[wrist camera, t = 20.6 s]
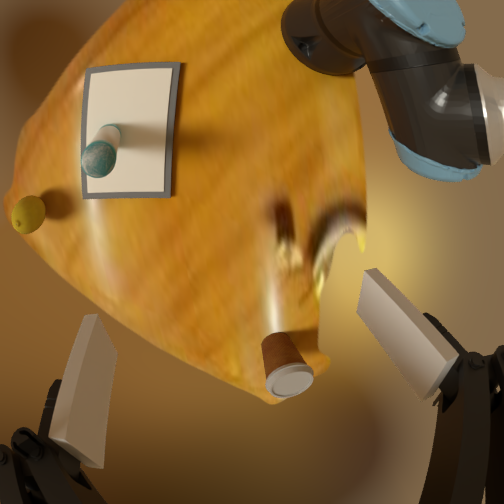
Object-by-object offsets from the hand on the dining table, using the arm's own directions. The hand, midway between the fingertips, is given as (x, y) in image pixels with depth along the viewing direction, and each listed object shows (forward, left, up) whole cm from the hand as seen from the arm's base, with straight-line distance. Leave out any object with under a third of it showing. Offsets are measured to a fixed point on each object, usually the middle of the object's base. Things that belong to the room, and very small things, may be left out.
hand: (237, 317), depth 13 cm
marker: (+14, -6, -29) cm, 33 cm away
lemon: (+28, +4, -31) cm, 42 cm away
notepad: (+12, -7, -31) cm, 34 cm away
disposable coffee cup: (-16, +34, -31) cm, 49 cm away
